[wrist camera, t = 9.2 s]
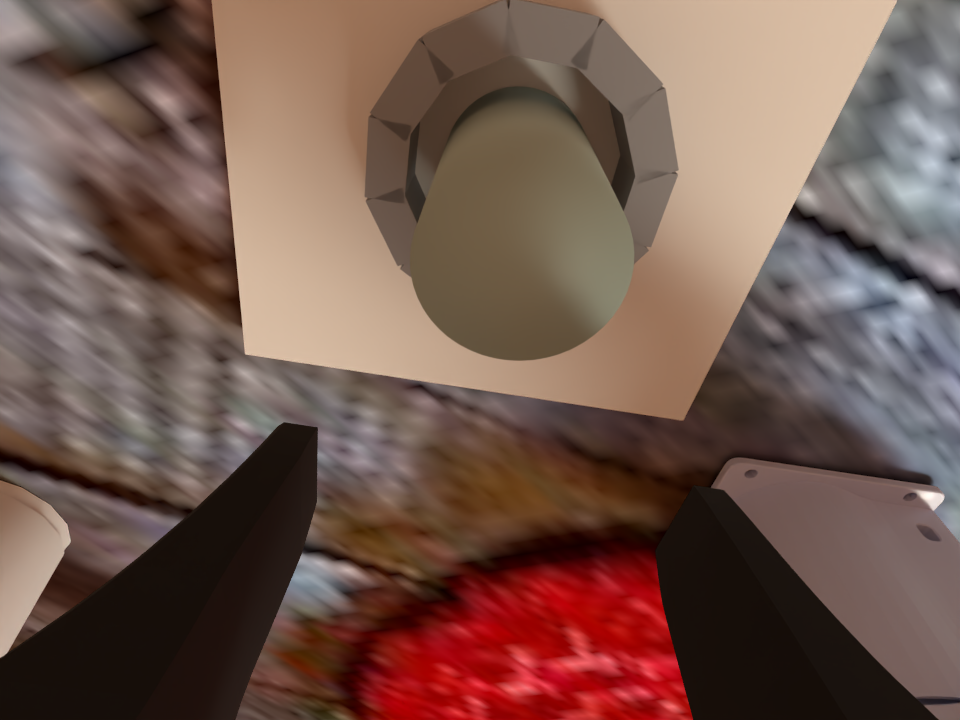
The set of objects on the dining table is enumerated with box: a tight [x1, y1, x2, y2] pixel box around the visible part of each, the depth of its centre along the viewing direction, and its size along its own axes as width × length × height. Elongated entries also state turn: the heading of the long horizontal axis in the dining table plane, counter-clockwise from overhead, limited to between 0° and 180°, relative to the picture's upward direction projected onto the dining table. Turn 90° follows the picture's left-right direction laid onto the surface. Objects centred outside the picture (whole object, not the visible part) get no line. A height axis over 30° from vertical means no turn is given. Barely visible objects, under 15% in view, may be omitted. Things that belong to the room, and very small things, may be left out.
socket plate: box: [212, 0, 897, 421], centre depth 15 cm, size 16×16×3 cm
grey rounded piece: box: [410, 86, 634, 361], centre depth 12 cm, size 4×4×6 cm
